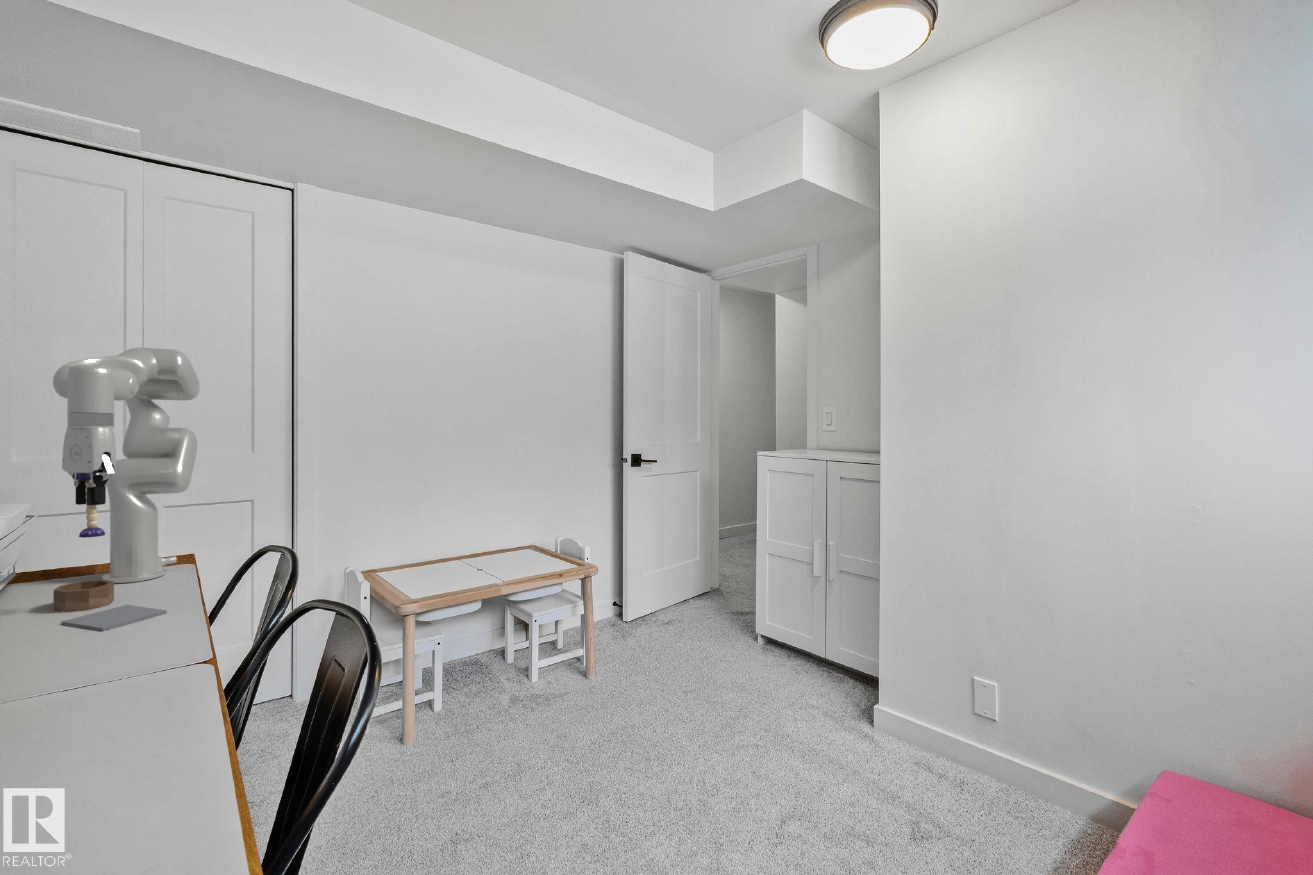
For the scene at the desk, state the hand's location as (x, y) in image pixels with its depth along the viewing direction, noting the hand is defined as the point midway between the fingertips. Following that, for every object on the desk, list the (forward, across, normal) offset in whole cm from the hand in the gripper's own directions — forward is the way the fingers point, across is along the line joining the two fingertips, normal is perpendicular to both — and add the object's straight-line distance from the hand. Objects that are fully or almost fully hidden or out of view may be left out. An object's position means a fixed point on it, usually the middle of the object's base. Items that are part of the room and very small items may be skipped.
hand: (90, 503), depth 132 cm
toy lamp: (+7, 0, 0) cm, 7 cm away
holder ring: (+23, -4, +1) cm, 24 cm away
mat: (+24, +12, -2) cm, 27 cm away
